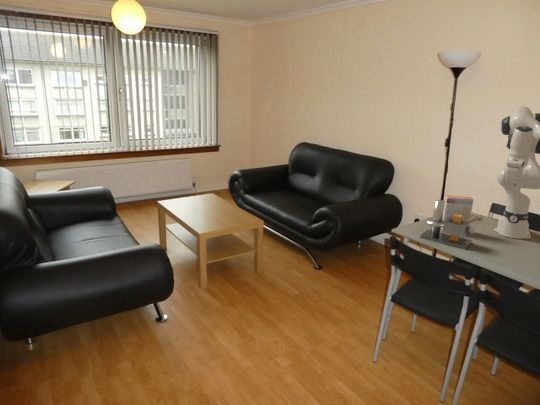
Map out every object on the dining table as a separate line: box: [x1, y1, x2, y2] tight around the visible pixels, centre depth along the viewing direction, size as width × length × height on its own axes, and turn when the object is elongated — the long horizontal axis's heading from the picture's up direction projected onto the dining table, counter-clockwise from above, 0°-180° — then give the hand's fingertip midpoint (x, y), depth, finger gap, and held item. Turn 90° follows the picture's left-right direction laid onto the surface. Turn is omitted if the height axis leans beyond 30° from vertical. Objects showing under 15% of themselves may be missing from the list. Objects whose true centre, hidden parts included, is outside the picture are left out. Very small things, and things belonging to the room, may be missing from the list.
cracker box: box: [441, 194, 474, 232], centre depth 230 cm, size 14×6×21 cm, turn 76°
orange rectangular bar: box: [449, 214, 463, 241], centre depth 213 cm, size 3×4×14 cm
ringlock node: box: [419, 199, 476, 250], centre depth 215 cm, size 12×25×22 cm, turn 50°
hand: (511, 188), depth 195 cm, fingers open, 8 cm apart
